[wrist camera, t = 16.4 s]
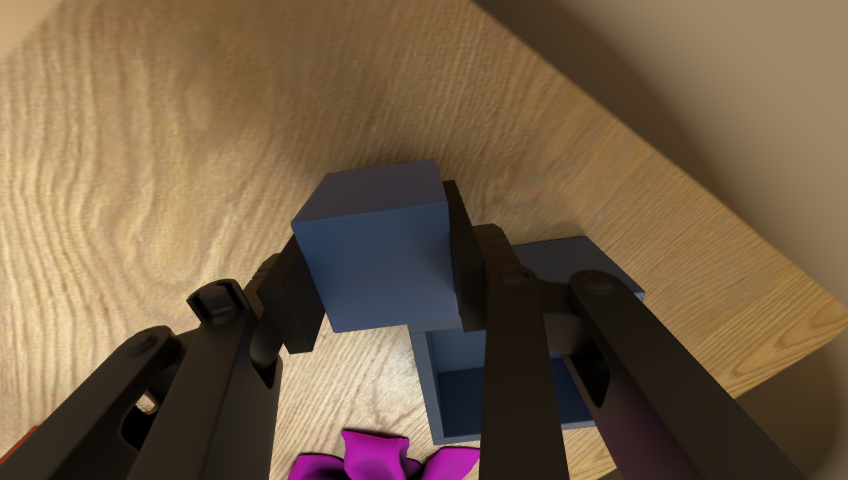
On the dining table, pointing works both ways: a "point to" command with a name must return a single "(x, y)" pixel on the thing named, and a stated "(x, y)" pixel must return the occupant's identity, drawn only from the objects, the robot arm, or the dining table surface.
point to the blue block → (380, 246)
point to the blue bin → (465, 352)
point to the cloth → (383, 462)
